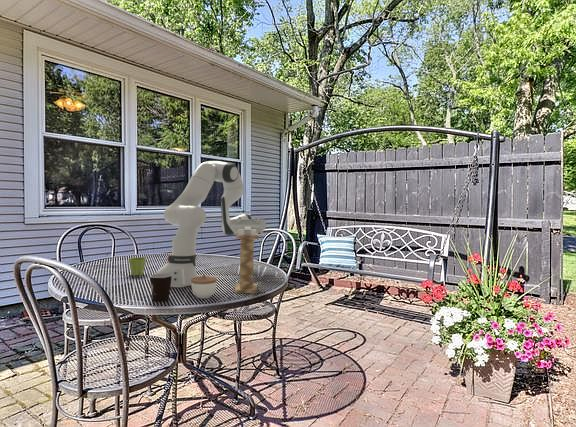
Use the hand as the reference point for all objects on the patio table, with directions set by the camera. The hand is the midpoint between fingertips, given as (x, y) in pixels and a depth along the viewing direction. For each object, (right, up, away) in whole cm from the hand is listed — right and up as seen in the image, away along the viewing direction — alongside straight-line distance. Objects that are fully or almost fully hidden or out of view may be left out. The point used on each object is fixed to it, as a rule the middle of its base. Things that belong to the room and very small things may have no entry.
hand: (248, 218), depth 200 cm
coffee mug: (-31, -33, -48) cm, 66 cm away
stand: (+2, -33, -30) cm, 44 cm away
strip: (+3, -7, -26) cm, 27 cm away
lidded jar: (-14, -33, -43) cm, 57 cm away
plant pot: (-60, -31, -3) cm, 67 cm away
